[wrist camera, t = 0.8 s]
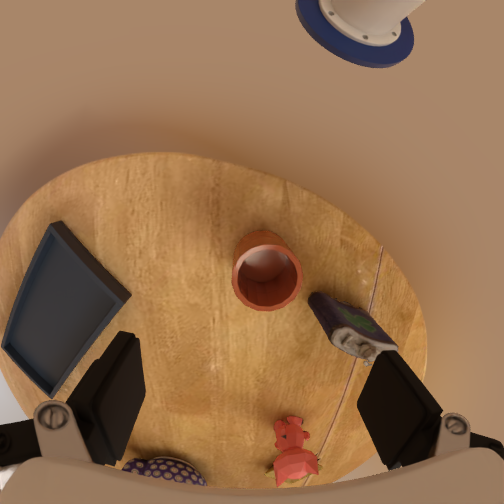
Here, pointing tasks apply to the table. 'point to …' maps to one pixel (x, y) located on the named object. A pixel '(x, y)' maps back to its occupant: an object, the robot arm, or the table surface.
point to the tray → (60, 309)
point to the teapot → (166, 470)
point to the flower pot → (265, 272)
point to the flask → (350, 327)
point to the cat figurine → (292, 451)
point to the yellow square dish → (271, 473)
